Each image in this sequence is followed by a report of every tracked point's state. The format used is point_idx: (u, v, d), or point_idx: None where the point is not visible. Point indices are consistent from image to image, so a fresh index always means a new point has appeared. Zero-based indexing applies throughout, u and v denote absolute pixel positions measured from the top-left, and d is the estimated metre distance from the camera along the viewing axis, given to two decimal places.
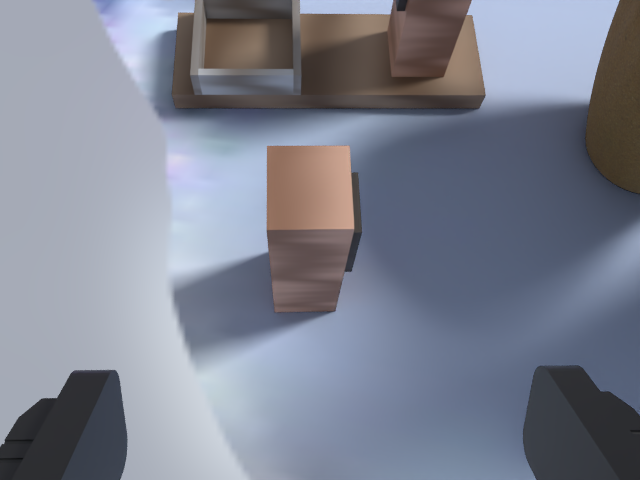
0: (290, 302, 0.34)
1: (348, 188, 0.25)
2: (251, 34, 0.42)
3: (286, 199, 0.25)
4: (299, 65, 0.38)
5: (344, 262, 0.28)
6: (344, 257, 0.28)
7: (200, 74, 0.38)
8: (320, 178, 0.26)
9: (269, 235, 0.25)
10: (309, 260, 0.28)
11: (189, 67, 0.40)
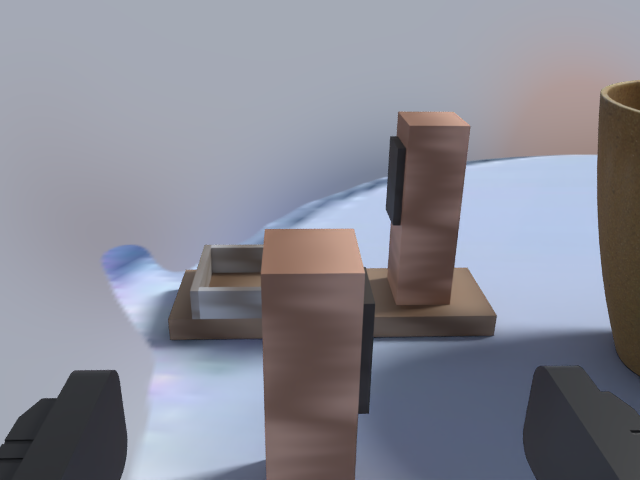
0: None
1: (355, 250, 0.22)
2: (254, 281, 0.43)
3: (285, 256, 0.22)
4: None
5: (357, 366, 0.22)
6: (357, 351, 0.22)
7: (200, 290, 0.37)
8: (323, 245, 0.23)
9: (264, 290, 0.21)
10: (314, 360, 0.22)
11: (190, 301, 0.40)
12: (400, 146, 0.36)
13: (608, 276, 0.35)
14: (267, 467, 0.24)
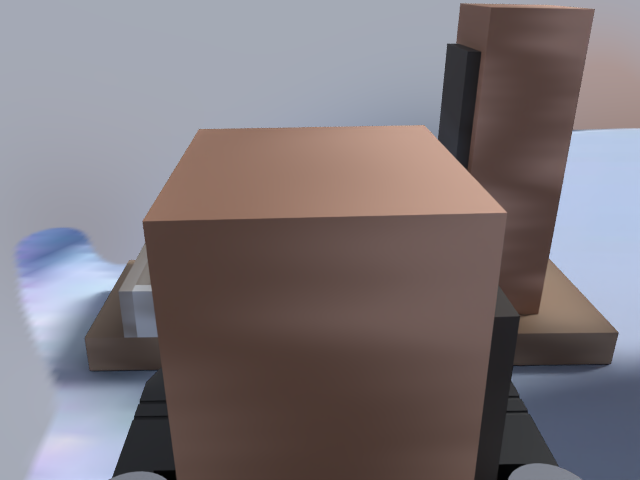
0: None
1: (446, 161, 0.08)
2: None
3: (239, 176, 0.07)
4: None
5: None
6: (464, 462, 0.07)
7: (136, 290, 0.22)
8: (352, 153, 0.08)
9: (161, 277, 0.06)
10: None
11: None
12: (470, 50, 0.22)
13: None
14: None
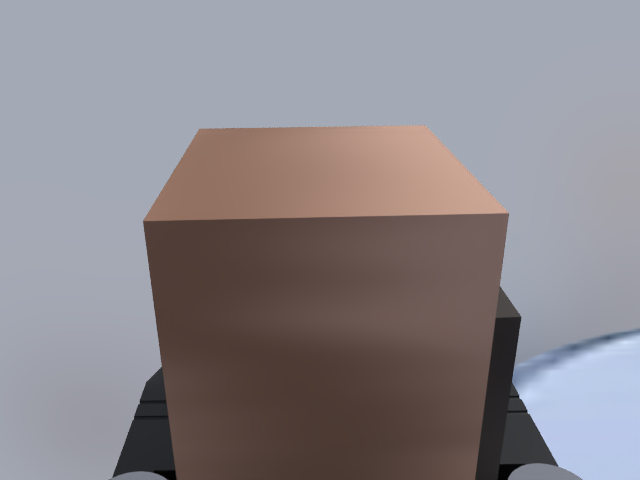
0: None
1: (447, 161, 0.08)
2: None
3: (239, 176, 0.07)
4: None
5: None
6: (464, 463, 0.07)
7: None
8: (353, 153, 0.08)
9: (161, 277, 0.06)
10: None
11: None
12: None
13: None
14: None
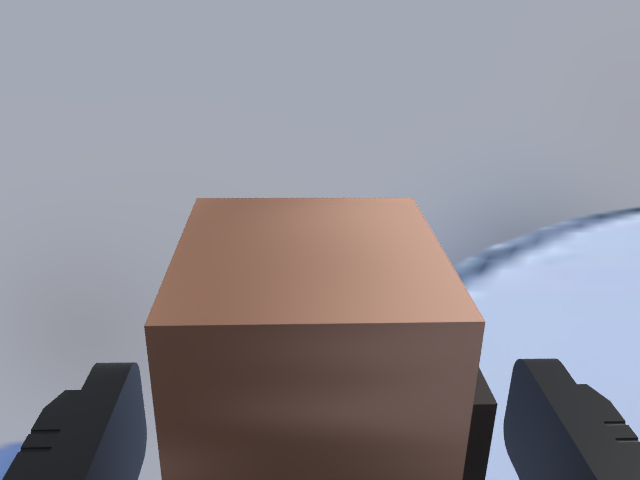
0: None
1: (432, 249, 0.08)
2: None
3: (235, 266, 0.08)
4: None
5: None
6: None
7: None
8: (343, 235, 0.09)
9: (159, 375, 0.06)
10: None
11: None
12: None
13: None
14: None
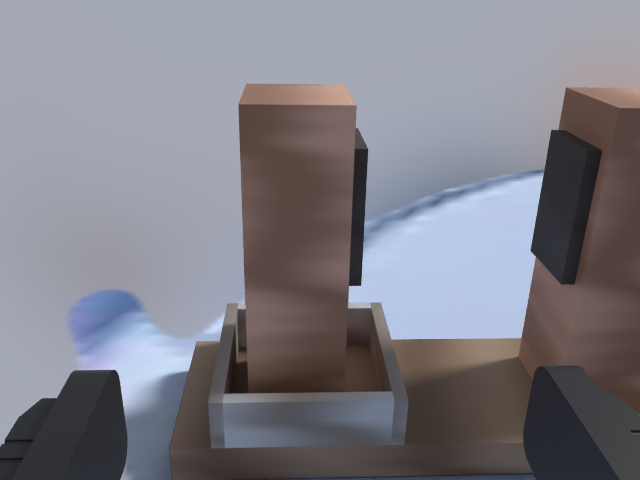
0: (274, 380, 0.22)
1: (345, 94, 0.20)
2: None
3: (267, 96, 0.20)
4: (401, 386, 0.22)
5: (348, 222, 0.20)
6: (347, 204, 0.20)
7: (226, 401, 0.21)
8: (310, 91, 0.21)
9: (242, 124, 0.18)
10: (299, 214, 0.20)
11: (205, 408, 0.24)
12: (588, 146, 0.20)
13: None
14: (248, 347, 0.22)
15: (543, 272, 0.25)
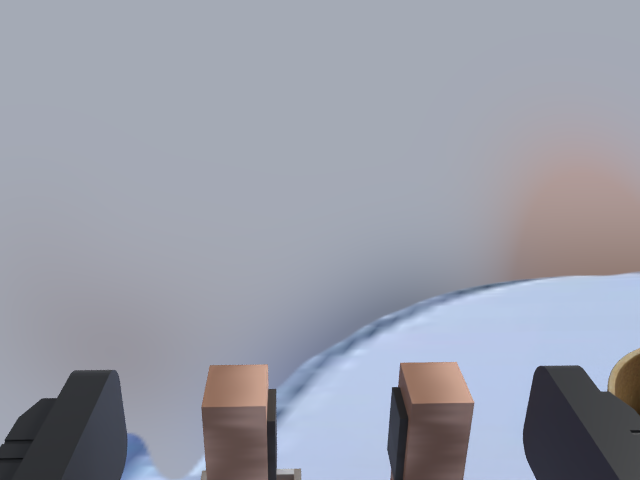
0: None
1: (264, 385, 0.36)
2: None
3: (218, 391, 0.35)
4: None
5: (265, 459, 0.35)
6: (264, 450, 0.35)
7: None
8: (245, 380, 0.36)
9: (204, 415, 0.34)
10: (237, 456, 0.35)
11: None
12: (402, 413, 0.36)
13: None
14: None
15: None
